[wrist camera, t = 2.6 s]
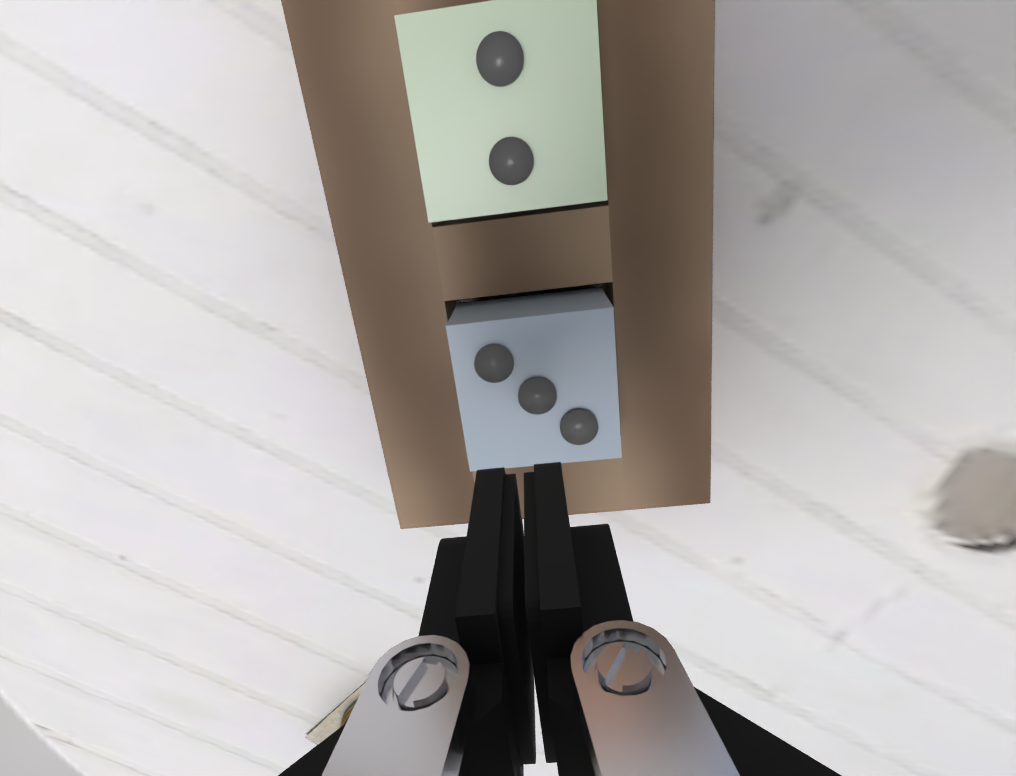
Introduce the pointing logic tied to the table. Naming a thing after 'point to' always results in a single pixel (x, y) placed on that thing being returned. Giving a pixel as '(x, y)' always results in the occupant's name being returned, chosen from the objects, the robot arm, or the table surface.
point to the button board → (526, 250)
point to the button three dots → (536, 379)
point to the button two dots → (505, 105)
